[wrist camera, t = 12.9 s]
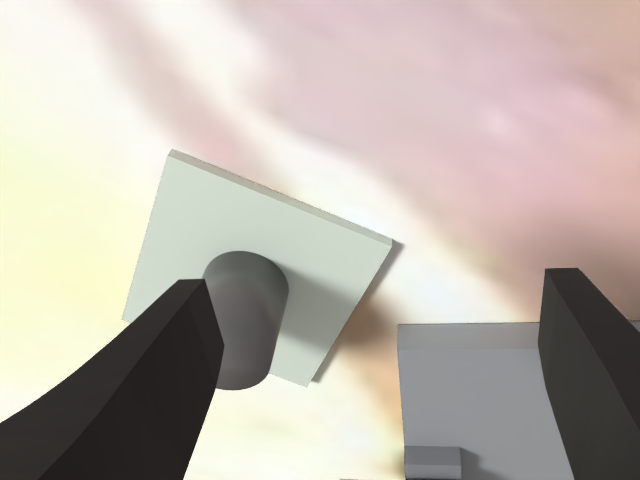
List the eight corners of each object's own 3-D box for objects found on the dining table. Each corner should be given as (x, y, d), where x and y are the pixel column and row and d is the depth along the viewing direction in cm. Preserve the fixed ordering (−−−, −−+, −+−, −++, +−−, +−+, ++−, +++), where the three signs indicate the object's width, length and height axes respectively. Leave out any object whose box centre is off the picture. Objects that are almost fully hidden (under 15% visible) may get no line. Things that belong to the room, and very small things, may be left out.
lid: (392, 232, 23) (390, 317, 19) (309, 371, 28) (293, 462, 24) (176, 143, 22) (124, 213, 18) (130, 304, 27) (82, 388, 23)
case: (817, 318, 23) (858, 366, 21) (725, 523, 30) (748, 573, 28) (397, 324, 25) (397, 367, 23) (411, 510, 33) (411, 555, 31)
